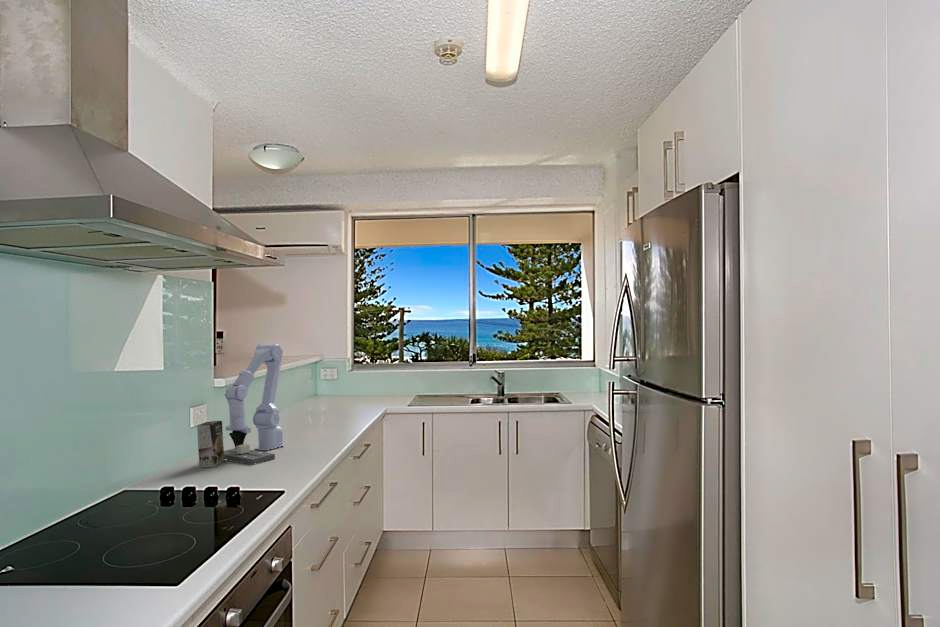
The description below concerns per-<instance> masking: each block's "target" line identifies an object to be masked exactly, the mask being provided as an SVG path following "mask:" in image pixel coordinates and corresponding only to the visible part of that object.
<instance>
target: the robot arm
mask: <svg viewBox="0 0 940 627" xmlns="http://www.w3.org/2000/svg"><path fill="white" fill-rule="evenodd" d="M283 354H284V350H283V349H282V347H281V345H280V344H279V343H273V344H272V343H271V344H270V343H269V344H258V345H257V346H256V348H255V349H254V350H253V356H252V359H251V361H250V362H249V364H248V366H247V368H246V369H245V370H242V371H241V372H239V373H238V376H237V378H236V379H235V380H234V382H233V383H232V385H230V386H228V387H227V388H226V390H225V393H224V398H225V400H227V404H228V411H229V425H225V431H227V432H228V431H230V432H229V433H228V435H229V436H230V438H231V440H232V442H233V444H234V448H236V446H237V445H242V444H245V443H244V442H245V439H246V436H247V435H248V434H250V433H251V432H252V431H251V427H249V426H247V425H246V412H245V399H246V398H247V395H248V389H249V387H250V386H251V385H252V383H253V381H254V379H255V376H254V375H255V373H256V372H257V371H258V369H260V367H261V365H262V364H263V365H265V366H266V375H265V380H264V386H263V393H262V398H261V404H259V405H258V406H257V407H256V408H255V412H254V413H253V416H252V422H253V424H254V426H255V427H256V429H257V437H258V438H257V440H258V447H254V450H257V449H258V451H263V450H265V451H264V452H267V451H270V449H271V450H275V449H278V448H277V447H279V448H282V447H281V446H283V447H285V445H284V441H283V430H282V428H281V426H279V425H278V424H279V422H280V408H278V407H277V406H276V400H277V399H276V398H277V394H278V393H277V392H278V386H279V380H280V374H281V368H282V360H283ZM231 431H232V432H231ZM274 448H275V449H274ZM266 450H267V451H266Z"/></svg>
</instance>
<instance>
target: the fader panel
mask: <svg viewBox="0 0 940 627" xmlns="http://www.w3.org/2000/svg"><path fill="white" fill-rule="evenodd" d="M224 459H227V460H226V461H229V460H232V461H231V462H234V461H238V462H237V463H240V462H243V463H242V464H246V463H249V464H248V465H251V464H254V465H256V464H255V463H258V464H260V462H261V463H264V462H263V461H265V462H268V461H267V460H269V461H272V460H271V459H273V460H275V459H276V454H275V453H271V452H267V451H261V450H258V451H257V450H251V449H250V452H247V453H243V454H238V453H237V450H236V448H235V447H234V448H230V449H226V450H224Z"/></svg>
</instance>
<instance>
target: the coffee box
mask: <svg viewBox="0 0 940 627" xmlns="http://www.w3.org/2000/svg"><path fill="white" fill-rule="evenodd" d="M196 427H197V429H196V430H197V448H198V468H216V467H217V466H219V465H221V464H222V463H224V462H225V460H224V451H225V450H224V448H225V447H224V432H223V420H212V421H205V422H203V423H201V424H200V423H199V424H198V425H196Z"/></svg>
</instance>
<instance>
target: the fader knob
mask: <svg viewBox="0 0 940 627" xmlns="http://www.w3.org/2000/svg"><path fill="white" fill-rule="evenodd" d="M250 448H251V447H250V444H249V443H243V444H242V445H237V446H236V450H237V453H238V454H243V453H247V452H250V450H251V449H250Z"/></svg>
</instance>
